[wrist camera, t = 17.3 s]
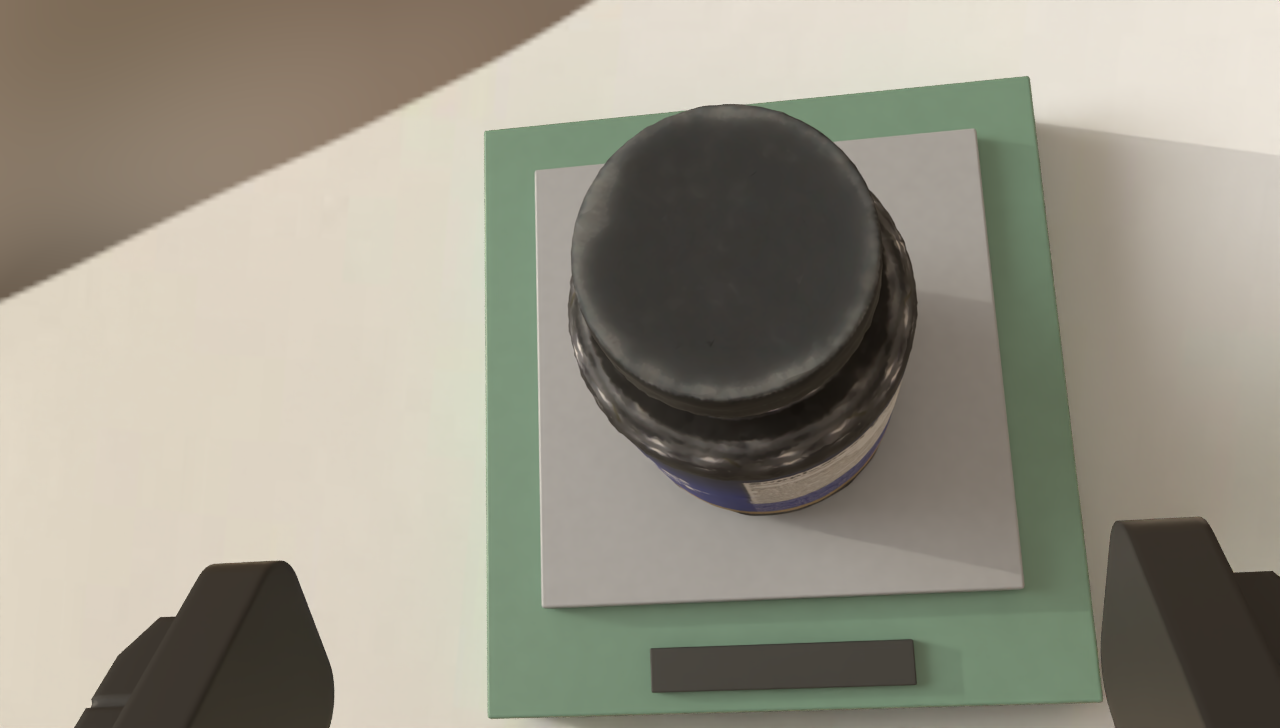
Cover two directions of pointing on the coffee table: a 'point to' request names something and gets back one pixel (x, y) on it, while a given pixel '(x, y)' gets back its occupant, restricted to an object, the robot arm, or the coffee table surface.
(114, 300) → the coffee table surface
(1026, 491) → the kitchen scale
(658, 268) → the pill bottle
